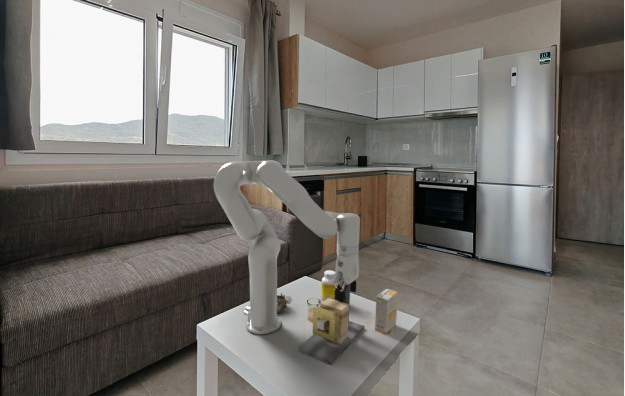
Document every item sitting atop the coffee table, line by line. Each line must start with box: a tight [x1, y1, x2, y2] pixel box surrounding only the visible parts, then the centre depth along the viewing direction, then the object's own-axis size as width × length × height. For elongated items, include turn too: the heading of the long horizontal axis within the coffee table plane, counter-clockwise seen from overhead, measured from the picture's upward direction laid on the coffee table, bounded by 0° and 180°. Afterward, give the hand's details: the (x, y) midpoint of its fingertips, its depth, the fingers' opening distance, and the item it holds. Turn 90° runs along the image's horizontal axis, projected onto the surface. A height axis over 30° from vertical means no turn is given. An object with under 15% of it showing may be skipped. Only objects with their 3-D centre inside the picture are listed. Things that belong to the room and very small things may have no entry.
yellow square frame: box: [312, 306, 340, 342], centre depth 103 cm, size 8×3×8 cm, turn 58°
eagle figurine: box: [277, 292, 293, 316], centre depth 128 cm, size 8×7×9 cm
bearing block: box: [298, 298, 365, 365], centre depth 108 cm, size 12×24×13 cm, turn 148°
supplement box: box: [374, 288, 399, 335], centre depth 116 cm, size 8×5×13 cm, turn 141°
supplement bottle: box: [320, 269, 335, 303], centre depth 135 cm, size 7×7×13 cm
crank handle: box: [317, 284, 351, 331], centre depth 108 cm, size 3×18×14 cm, turn 148°
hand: (345, 296), depth 114 cm, fingers open, 9 cm apart
